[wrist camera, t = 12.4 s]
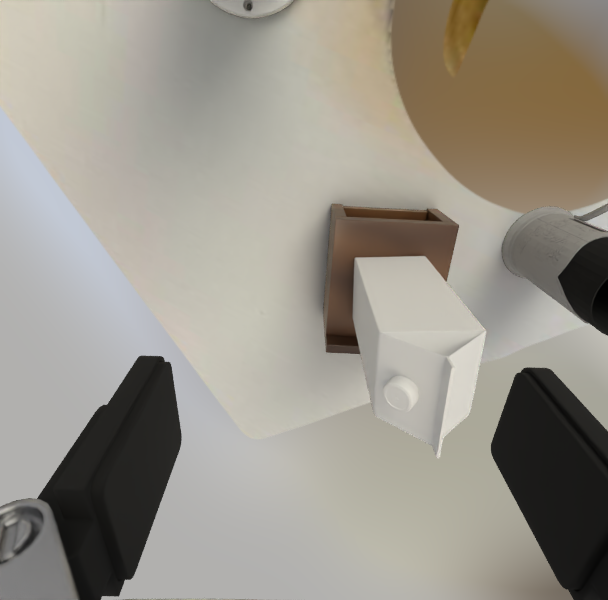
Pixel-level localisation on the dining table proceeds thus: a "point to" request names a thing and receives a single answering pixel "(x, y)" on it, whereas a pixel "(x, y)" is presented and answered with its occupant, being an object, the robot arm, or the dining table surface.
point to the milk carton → (415, 345)
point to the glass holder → (563, 260)
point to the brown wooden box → (376, 243)
